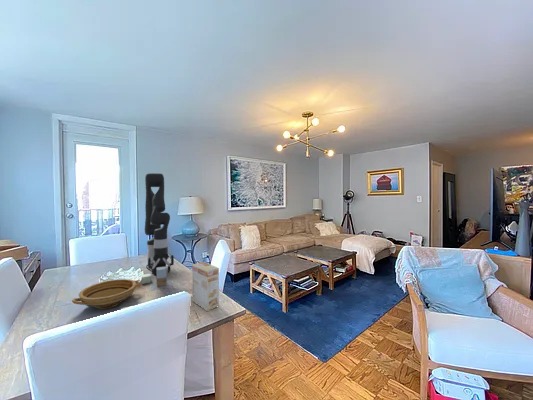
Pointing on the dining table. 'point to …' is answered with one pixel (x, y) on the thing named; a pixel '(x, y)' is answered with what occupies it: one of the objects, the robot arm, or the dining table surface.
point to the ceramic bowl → (106, 293)
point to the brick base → (161, 282)
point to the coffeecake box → (205, 285)
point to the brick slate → (161, 272)
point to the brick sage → (146, 278)
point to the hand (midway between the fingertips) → (161, 273)
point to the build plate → (154, 286)
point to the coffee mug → (157, 266)
